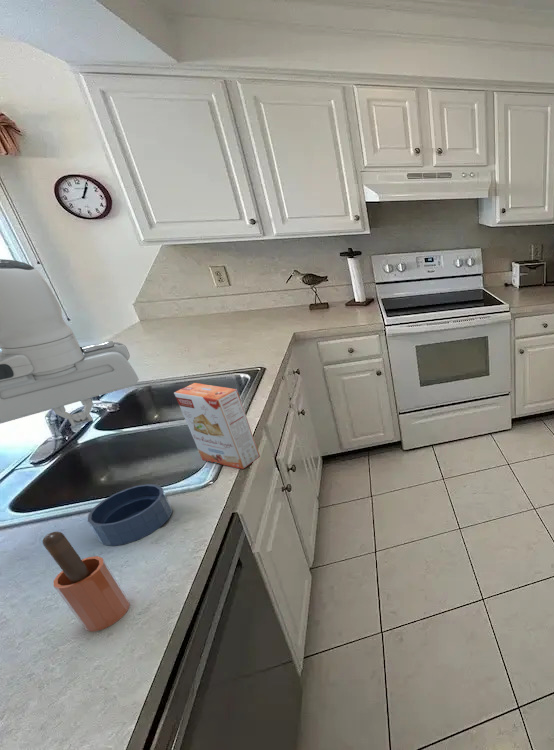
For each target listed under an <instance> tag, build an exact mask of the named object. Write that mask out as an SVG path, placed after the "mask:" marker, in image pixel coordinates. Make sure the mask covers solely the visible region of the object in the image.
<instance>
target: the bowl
mask: <svg viewBox="0 0 554 750" xmlns="http://www.w3.org/2000/svg"><path fill="white" fill-rule="evenodd" d="M172 513H173V507H172V504H171V503H170V500H169V499H168V496H167V494H166V493H165V490H164V488H163V487H162V486H160V485H159V484H154V483H147V484H139V485H135V486H132V487H131V486H130V487H128V488H125V489H123V490H120V491H117V492H116V493H113V494H112V495H110V496H108V497H106V498H104V499H103V500H102V501H100V502H98V504H96V505H95V506H93V508H92V509H91V510H90V512H89V513H88V515H87V523H88V525H89V527H90V528H91V529H92V532H93V533H94V535H95V536H96V538H97V539H98V541H99V542H100V543H101V544H102V545H104V546H110V547H115V546H122V545H127V544H130V543H132V542H136V541H139V540H141V539H143V538H145V537H147V536H149V535H151V534H153V533H154V532H156V531H157V530H158V529H159V528H161V527H162V526H163V525H164V524H165V523H166V522H167V521H168V520H169V519H170V517H171V515H172Z"/></svg>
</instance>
